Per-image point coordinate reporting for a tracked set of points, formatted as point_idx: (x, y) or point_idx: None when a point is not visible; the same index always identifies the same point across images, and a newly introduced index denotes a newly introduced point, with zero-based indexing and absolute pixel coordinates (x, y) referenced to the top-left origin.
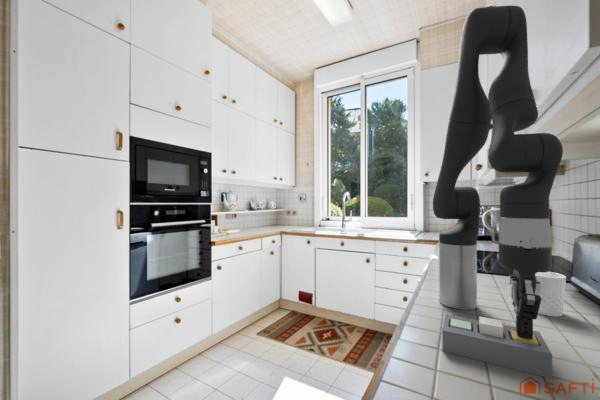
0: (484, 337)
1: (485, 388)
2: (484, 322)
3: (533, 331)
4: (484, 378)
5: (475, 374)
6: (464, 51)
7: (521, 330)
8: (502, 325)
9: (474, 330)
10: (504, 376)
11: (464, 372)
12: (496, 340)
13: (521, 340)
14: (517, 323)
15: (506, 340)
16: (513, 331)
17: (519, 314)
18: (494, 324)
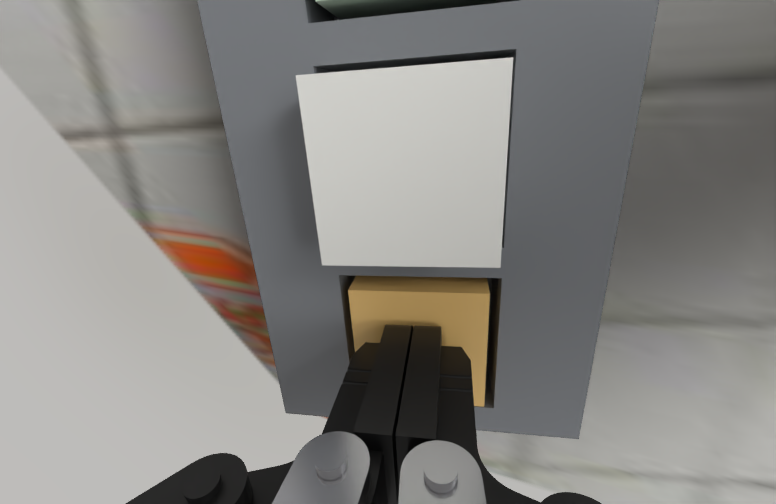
0: (256, 116)
1: (78, 115)
2: (346, 120)
3: (565, 413)
4: (143, 111)
5: (144, 73)
6: None
7: (348, 370)
8: (368, 265)
9: (342, 32)
10: (220, 189)
11: (120, 20)
12: (262, 192)
13: (355, 327)
14: (370, 382)
15: (306, 249)
16: (473, 310)
17: (158, 486)
18: (348, 206)
